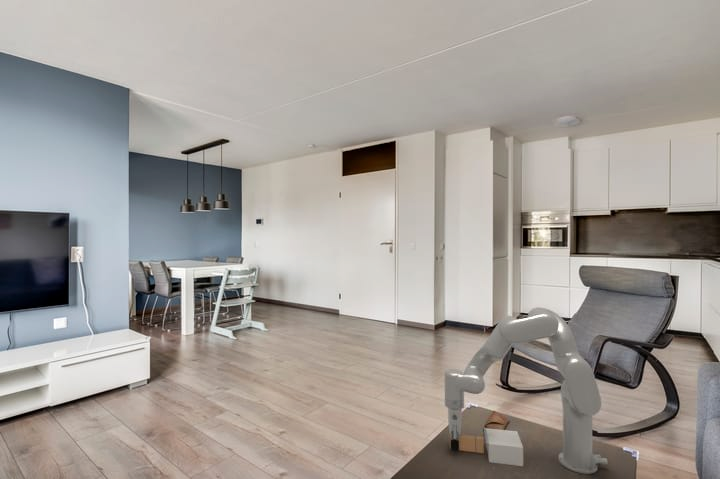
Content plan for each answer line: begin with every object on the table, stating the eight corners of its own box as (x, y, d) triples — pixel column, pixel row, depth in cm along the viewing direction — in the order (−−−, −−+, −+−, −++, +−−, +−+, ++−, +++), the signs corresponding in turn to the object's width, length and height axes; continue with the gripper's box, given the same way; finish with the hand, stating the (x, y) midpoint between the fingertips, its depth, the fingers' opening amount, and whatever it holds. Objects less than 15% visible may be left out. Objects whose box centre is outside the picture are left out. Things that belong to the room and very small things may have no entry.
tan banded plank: (483, 450, 147) (483, 436, 147) (483, 453, 145) (483, 438, 145) (449, 446, 150) (449, 433, 150) (449, 449, 148) (449, 435, 148)
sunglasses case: (503, 437, 157) (495, 422, 159) (488, 442, 160) (480, 427, 162) (511, 420, 173) (503, 406, 174) (497, 424, 176) (489, 411, 178)
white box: (517, 448, 149) (517, 430, 149) (523, 466, 137) (523, 447, 137) (483, 444, 152) (483, 427, 152) (486, 461, 140) (486, 442, 140)
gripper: (465, 411, 140) (465, 460, 140) (463, 394, 156) (463, 438, 156) (444, 409, 142) (445, 457, 142) (444, 393, 157) (445, 436, 157)
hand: (454, 447), depth 149 cm, fingers closed on tan banded plank
